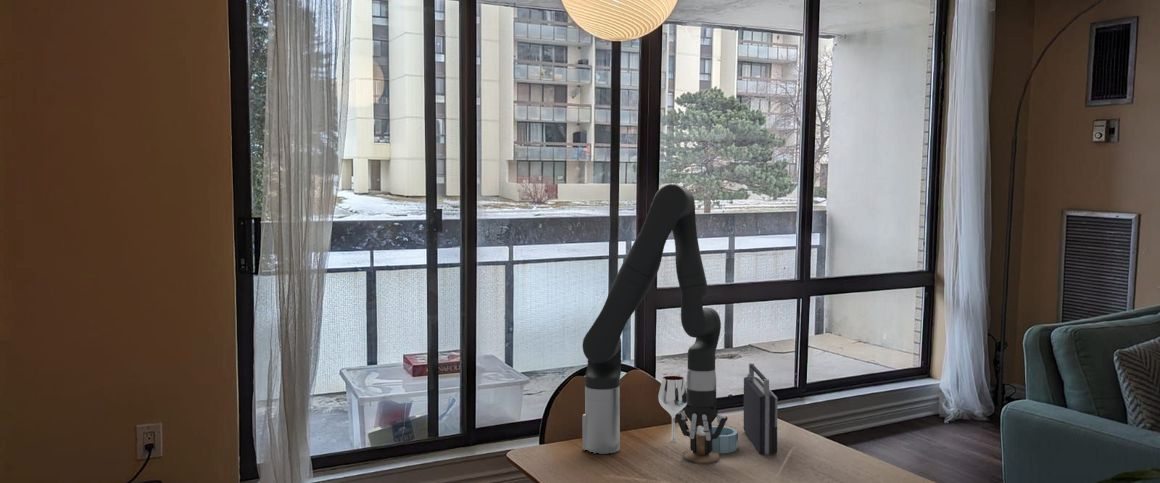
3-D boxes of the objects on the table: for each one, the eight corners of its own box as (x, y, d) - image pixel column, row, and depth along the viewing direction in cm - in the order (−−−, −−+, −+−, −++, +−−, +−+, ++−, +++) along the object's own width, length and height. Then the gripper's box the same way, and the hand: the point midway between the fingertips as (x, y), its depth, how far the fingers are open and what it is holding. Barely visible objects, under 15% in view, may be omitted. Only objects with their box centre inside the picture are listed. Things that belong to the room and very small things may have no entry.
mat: (679, 463, 215) (679, 461, 215) (688, 453, 224) (688, 451, 224) (714, 467, 212) (714, 465, 212) (722, 457, 220) (722, 455, 220)
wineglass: (694, 443, 233) (694, 378, 232) (671, 448, 228) (671, 382, 227) (674, 436, 240) (674, 373, 239) (652, 441, 235) (652, 377, 234)
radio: (779, 456, 221) (780, 380, 220) (759, 456, 221) (759, 380, 220) (761, 431, 245) (761, 362, 244) (743, 431, 245) (743, 362, 244)
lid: (679, 461, 215) (679, 438, 215) (688, 451, 224) (688, 429, 223) (714, 465, 212) (714, 441, 212) (722, 455, 220) (722, 432, 220)
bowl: (695, 452, 224) (695, 434, 224) (704, 442, 234) (704, 424, 233) (733, 456, 221) (733, 437, 220) (740, 446, 230) (740, 428, 230)
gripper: (731, 385, 218) (731, 452, 219) (678, 381, 223) (678, 446, 224) (725, 391, 211) (725, 460, 212) (670, 387, 216) (670, 454, 217)
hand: (701, 452), depth 218 cm, fingers closed on lid, 2 cm apart
